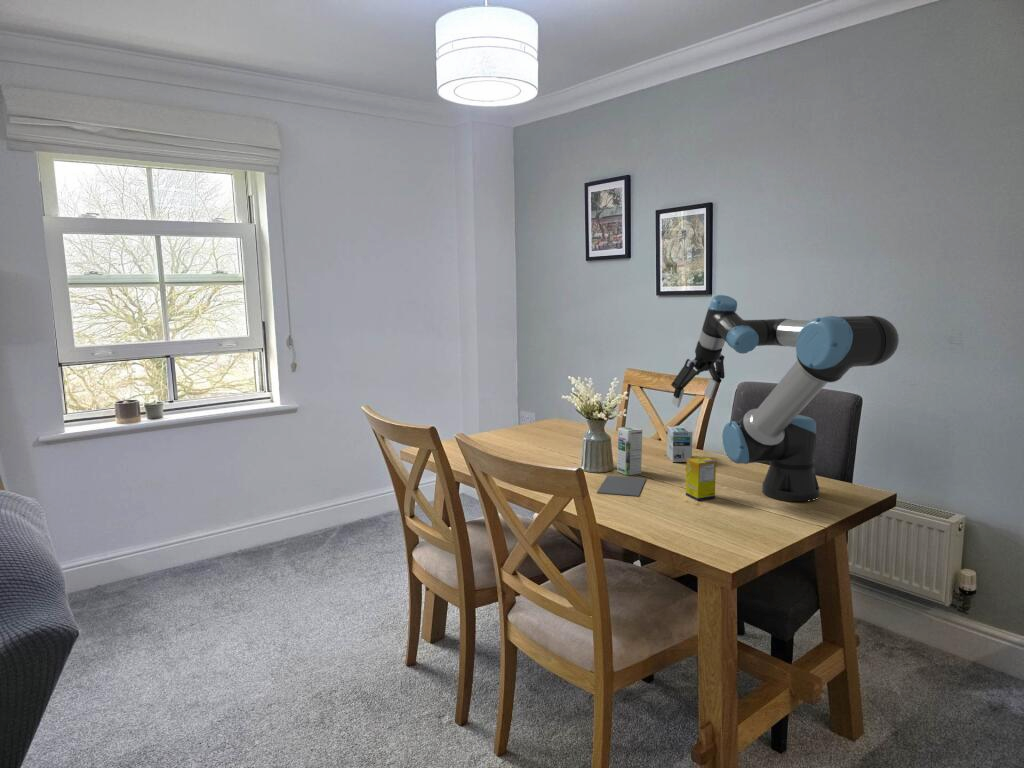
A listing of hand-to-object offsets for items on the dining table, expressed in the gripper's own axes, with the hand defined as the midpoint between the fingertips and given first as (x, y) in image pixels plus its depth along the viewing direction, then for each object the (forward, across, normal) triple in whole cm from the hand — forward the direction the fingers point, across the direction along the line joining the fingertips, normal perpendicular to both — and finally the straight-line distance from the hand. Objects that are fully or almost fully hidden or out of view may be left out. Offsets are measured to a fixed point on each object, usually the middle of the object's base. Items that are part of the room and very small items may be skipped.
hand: (691, 400), depth 217 cm
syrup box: (+22, +22, +3) cm, 31 cm away
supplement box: (+9, +20, +30) cm, 37 cm away
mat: (+16, +32, +12) cm, 38 cm away
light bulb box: (+26, -4, 0) cm, 26 cm away
